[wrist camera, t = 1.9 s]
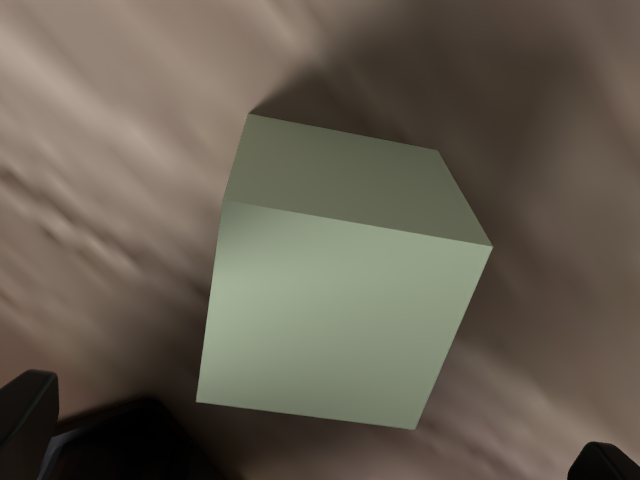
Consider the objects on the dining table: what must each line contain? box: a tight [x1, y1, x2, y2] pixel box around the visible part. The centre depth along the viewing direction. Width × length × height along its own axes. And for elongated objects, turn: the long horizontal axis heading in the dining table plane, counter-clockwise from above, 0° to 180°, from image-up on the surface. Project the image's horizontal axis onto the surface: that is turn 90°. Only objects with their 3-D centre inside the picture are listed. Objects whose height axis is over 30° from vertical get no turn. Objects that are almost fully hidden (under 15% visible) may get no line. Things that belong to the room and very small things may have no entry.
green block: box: [196, 113, 493, 430], centre depth 13 cm, size 5×5×5 cm
